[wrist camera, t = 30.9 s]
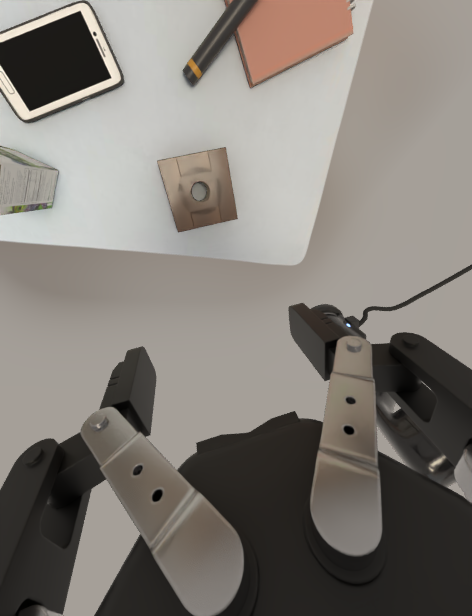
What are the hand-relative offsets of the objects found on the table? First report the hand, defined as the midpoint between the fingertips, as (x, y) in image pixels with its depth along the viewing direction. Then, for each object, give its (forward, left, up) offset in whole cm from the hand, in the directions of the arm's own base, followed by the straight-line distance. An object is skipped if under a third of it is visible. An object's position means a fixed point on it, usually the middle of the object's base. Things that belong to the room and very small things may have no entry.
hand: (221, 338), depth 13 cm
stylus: (-16, -27, -30) cm, 44 cm away
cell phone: (+11, -23, -34) cm, 43 cm away
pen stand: (-3, -6, -34) cm, 35 cm away
